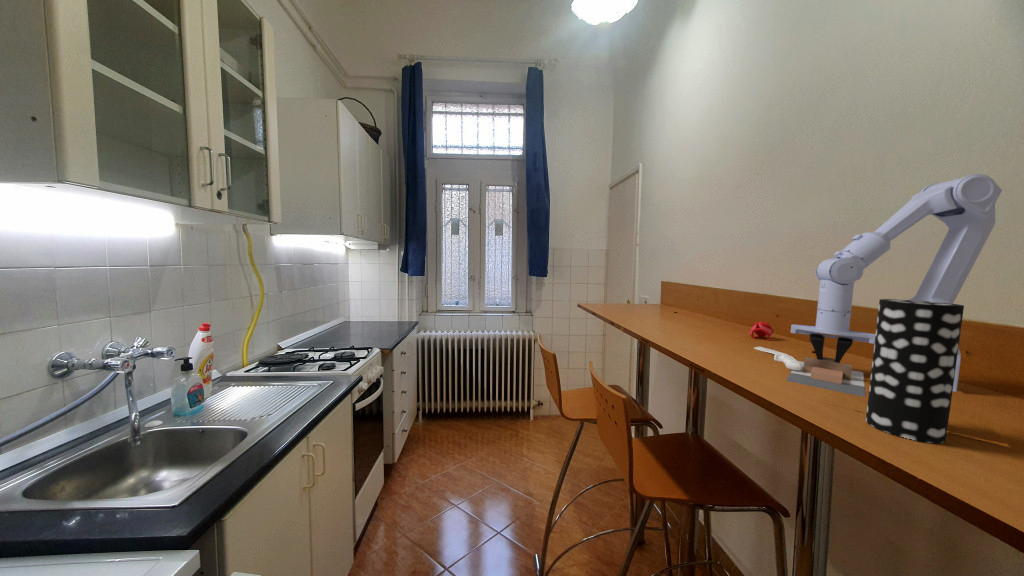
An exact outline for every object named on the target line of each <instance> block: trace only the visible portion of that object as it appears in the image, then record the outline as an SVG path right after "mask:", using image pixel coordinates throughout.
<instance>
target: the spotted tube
mask: <svg viewBox="0 0 1024 576" xmlns="http://www.w3.org/2000/svg"><path fill="white" fill-rule="evenodd" d="M964 309H965V305H964V304H963V305H962V304H957V303H953V304H950V303H940V302H929V301H915V300H909V299H893V298H882V299H881V298H880V299H879V302H878V310H877V311H878V312H877V320H876V326H875V327H876V328H875V334H876V335H875V344H873V345H874V346H873V355H872V361H871V362H872V363H871V372H870V380H869V390H868V397H867V405H866V413H865V414H866V415H865V422H866V423H867V424H868V425H869V426H871V427H873V428H874V429H877V430H878V429H879V431H881V432H883V433H886V432H887V433H886V434H889V433H890V434H889V435H891V434H892V435H891V436H895V435H896V436H895V437H898V436H899V438H901V437H904V438H903V439H905V438H907V439H906V440H909V439H912V440H911V441H914V440H915V442H919V443H920V442H921V443H925V444H926V443H927V444H944V443H946V441H947V435H948V428H949V421H950V413H951V412H950V411H951V406H952V398H953V392H954V391H953V384H954V376H955V369H956V362H957V354H958V349H959V347H960V345H959V344H960V337H961V331H962V325H963V323H962V322H963V317H964V316H963V315H964ZM943 442H944V443H943Z"/></svg>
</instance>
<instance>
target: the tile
mask: <svg viewBox="0 0 1024 576" xmlns="http://www.w3.org/2000/svg"><path fill="white" fill-rule="evenodd" d="M842 376H843V372H841V371H835V370H830V369H824V368H819V367H813V368H812V370H811V376H810V378H813V379H818V380H823V381H828V382H833V383H838V384H842Z"/></svg>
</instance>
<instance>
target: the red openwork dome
mask: <svg viewBox="0 0 1024 576" xmlns="http://www.w3.org/2000/svg"><path fill="white" fill-rule="evenodd" d="M748 333H749V336H750V337H751V338H752V339H753V340H754V339H756V336H758V337H759V338H760V337H761V338H765V337H767V341H770V340H771V337H770V336H772V335H773V334H774V329H773V327H772V326H771V324H769V323H768V322H766V321H757V322H755V323H754V324H753V325H752V326H751V328H750V329H749V331H748ZM754 334H755V335H756V336H755V335H754Z"/></svg>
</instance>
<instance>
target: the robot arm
mask: <svg viewBox="0 0 1024 576" xmlns="http://www.w3.org/2000/svg"><path fill="white" fill-rule="evenodd" d="M1002 191H1003V190H1002V188H1001V187H1000V186H999V185H998V184H997V182H996V181H995V180H994V179H993V178H992V177H990V176H988V175H986V174H982V173H974V174H968V175H966V176H964V177H959V178H956V179H952V180H947V181H943V182H936V183H932V184H929V185H927V186H925V187H924V188H922V189H921V190H920V192H917V193H916V194H913V195H912V197H911V198H910V200H909V201H908V202H907V203H905V204H904V205H903V206H902V207H901V208H899V210H897V212H895V213H894V214H893V215H892V216H891V217H889V218H888V219H887V220H886V221H885V222H884V223H882V225H880V226H879V227H878V228H877V229H876V230H874V231H871V232H870V231H869V232H864V233H863V232H862V234H856V235H854V236H853V237H852V238H851V240H852V242H850V243H849V244H848V245H846V246H845V247H844V248H843V249H841V250H839V251H838V250H837V251H836V252H835V253H833V258H829V259H828V258H827V259H825V260H823V261H822V262H820V264H818V265H817V266H818V268H817V269H815V270H814V274H815V277H816V278H817V279H818V281H819V287H818V288H819V290H818V299H817V308H816V309H817V310H816V319H815V326H814V325H803V324H794V323H793V324H791V325H790V327H791V328H790V333H791V334H800V335H808V336H809V341H810V343H811V345H812V348H813V350H814V353H815V356H816V359H819V360H822V359H823V357H824V353H823V352H824V346H825V338H833V339H837V340H836V348H835V349H836V350H835V358H834V359H835V361H834V362H837V363H841V361H842V359H843V358H844V356H845V354H846V353H847V351H848V350H849V349H850V348H851V347H852V345H853V342H854V341H855V342H861V343H869V344H872V345H874V344H875V335H876V333H869V332H862V331H856V330H850V325H851V323H850V322H851V315H852V308H853V307H852V306H853V296H854V285H855V282H857V281H859V280H860V279H862V277H863V274H864V270H865V269H866V268H868V266H870V265H871V264H873V263H874V262H876V260H878V259H879V258H880V257H882V256H883V255H884V254H886V253H887V252H889V250H890V249H891V242H892V240H894V239H896V238H897V237H899V236H900V235H902V234H904V232H906V231H907V230H909V229H910V228H912V226H914V225H916V224H917V223H919V222H920V221H921V220H923V219H925V218H927V216H930V215H931V216H933V217H934V218H936V219H938V220H939V221H941V222H942V223H944V224H945V225H946V227H947V228H948V229H947V232H946V234H945V237H944V239H943V240H942V242H941V244H940V246H939V247H938V248H939V249H938V250H937V253H936V254H935V256H934V258H933V260H932V262H931V264H930V266H929V267H928V269H927V272H926V274H925V276H924V278H923V280H922V282H921V283H920V285H919V287H918V289H917V292H916V293H915V295H914V296H912V297H911V298H910V299H908V300H915V301H929V302H940V303H950V304H955V301H956V299H957V297H958V296H959V294H960V292H961V290H962V288H963V286H964V285H965V282H966V280H967V278H968V277H969V274H970V272H971V271H972V269H973V267H974V265H975V263H976V261H977V259H978V257H979V255H980V254H981V251H982V250H983V248H984V246H985V244H986V242H987V240H988V238H989V236H990V235H991V233H992V230H993V229H994V227H995V225H996V203H997V201H998V199H999V197H1000V195H1001V193H1002ZM961 356H962V355H961V350H960V348H958V354H957V362H956V369H955V376H954V384H953V391H952V392H955V393H957V392H958V383H959V375H960V369H961V368H960V367H961V358H962V357H961Z"/></svg>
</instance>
